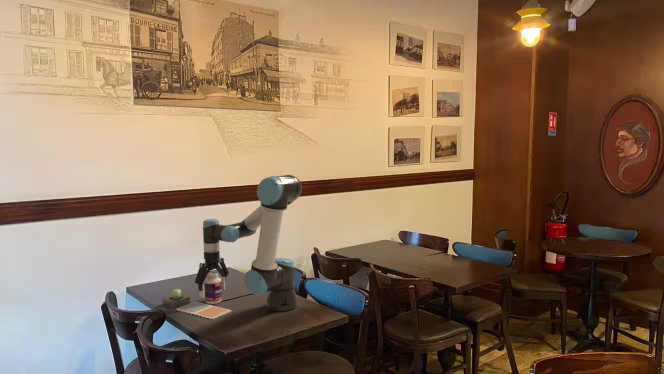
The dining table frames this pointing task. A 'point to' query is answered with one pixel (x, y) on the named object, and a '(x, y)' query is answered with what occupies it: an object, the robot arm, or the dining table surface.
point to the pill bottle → (213, 288)
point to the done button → (176, 294)
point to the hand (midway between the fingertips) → (212, 293)
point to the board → (203, 310)
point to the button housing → (176, 301)
